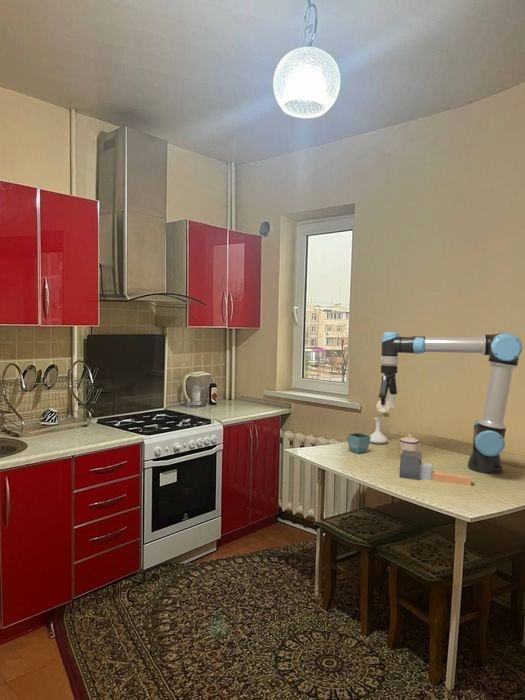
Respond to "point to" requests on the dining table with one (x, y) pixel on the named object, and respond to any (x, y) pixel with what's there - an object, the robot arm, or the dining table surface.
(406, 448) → the teacup with lid
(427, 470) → the orange bar on cube
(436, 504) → the dining table surface
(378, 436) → the flower in vase
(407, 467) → the block
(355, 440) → the flower pot
